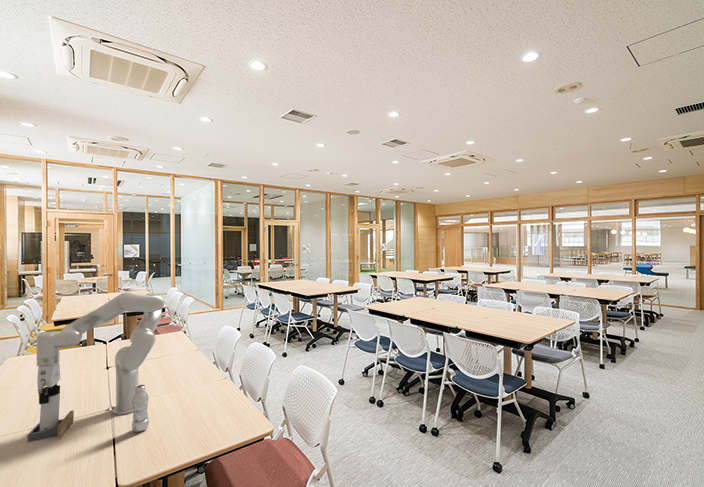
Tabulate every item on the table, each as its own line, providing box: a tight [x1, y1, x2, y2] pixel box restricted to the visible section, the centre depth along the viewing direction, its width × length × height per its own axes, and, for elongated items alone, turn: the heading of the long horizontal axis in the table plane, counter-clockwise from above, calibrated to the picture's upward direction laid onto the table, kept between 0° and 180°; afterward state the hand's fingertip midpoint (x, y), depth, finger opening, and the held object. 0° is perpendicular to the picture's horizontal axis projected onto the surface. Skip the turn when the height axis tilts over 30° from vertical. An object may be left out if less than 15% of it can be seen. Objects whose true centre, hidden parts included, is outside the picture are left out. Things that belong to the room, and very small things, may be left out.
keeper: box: [27, 418, 64, 443], centre depth 147 cm, size 11×10×3 cm
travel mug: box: [39, 384, 61, 432], centre depth 147 cm, size 6×7×20 cm
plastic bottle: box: [131, 384, 150, 433], centre depth 149 cm, size 6×7×20 cm
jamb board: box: [57, 410, 75, 441], centre depth 149 cm, size 1×14×6 cm, turn 23°
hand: (48, 399), depth 147 cm, fingers open, 7 cm apart
